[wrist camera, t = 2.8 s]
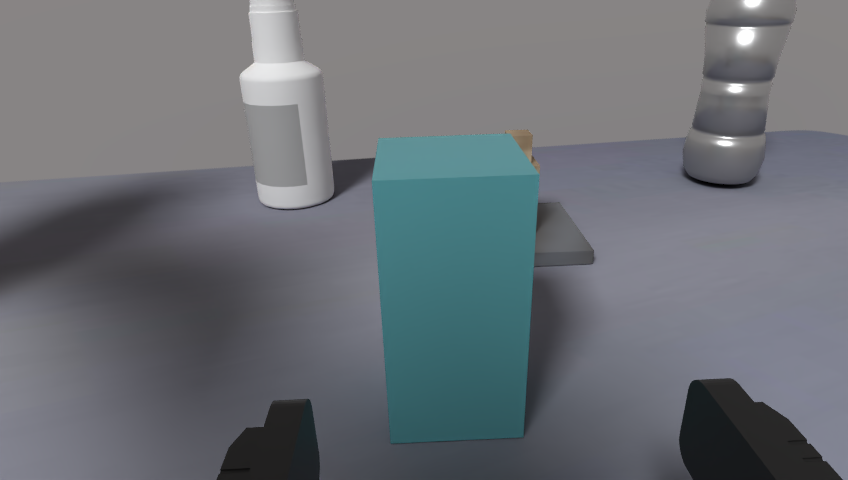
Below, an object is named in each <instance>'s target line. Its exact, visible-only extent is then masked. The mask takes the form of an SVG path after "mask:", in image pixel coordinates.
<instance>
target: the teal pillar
mask: <svg viewBox="0 0 848 480" xmlns="http://www.w3.org/2000/svg"><path fill="white" fill-rule="evenodd" d="M372 189H373V203H374V217H375V231H376V245H377V259H378V273H379V287H380V301H381V315H382V329H383V343H384V357H385V371H386V385H387V399H388V413H389V427H390V441H391V444H393V443H414V442H435V441H456V440H477V439H499V438H520V437H523V435H524V419H525V402H526V386H527V369H528V353H529V337H530V320H531V304H532V287H533V271H534V255H535V238H536V222H537V205H538V189H539V173H538V172H537V170H536V169H535V168H534V166H533V165H532V163H531V162H530V161H529V159H528V158H527V156H526V155H525V154H524V152H523V151H522V149H521V148H520V147H519V145H518V144H517V142H516V141H515V140H514V138H513V137H512V135H511V134H486V135H485V134H482V135H455V136H428V137H401V138H379V140H378V145H377V152H376V158H375V164H374V171H373V177H372Z"/></svg>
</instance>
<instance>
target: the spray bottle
mask: <svg viewBox="0 0 848 480" xmlns="http://www.w3.org/2000/svg"><path fill="white" fill-rule="evenodd" d="M249 8H250V12H249V13H248V15H249V21H250V28H251V35H252V41H251V42H252V49H253V55H254V61H255V62H254V63H253V64H252V65H251V66H249V67H248V68H247V69H246V70H244V71H243V72H242V73H241V75H240V84H241V91H242V97H243V103H244V110H245V116H246V121H247V127H248V134H249V140H250V146H251V152H252V159H253V165H254V171H255V177H256V184H257V190H258V196H259V199H260V201H261V203H262V204H264V205H266V206H268V207H272V208H277V209H299V208H305V207H311V206H314V205H318V204H321V203H323V202H325V201H327V200H329V199H330V198H331V197H332V196H333V193H334V180H333V170H332V160H331V150H330V141H329V132H328V121H327V111H326V101H325V91H324V82H323V73H322V71H321V70H320V69H319V68H317V67H316V66H314V65H313V64H311V63H309V62H307V61H306V60H305V59H304V52H303V43H302V38H301V34H300V26H299V18H298V11H297V10H296V8H295V4H294V0H250V6H249Z"/></svg>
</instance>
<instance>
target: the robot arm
mask: <svg viewBox="0 0 848 480" xmlns="http://www.w3.org/2000/svg"><path fill="white" fill-rule="evenodd" d="M679 444H680V451H681V455H682V459H683V462H684V464H685V466H686V468H687V470H688V471H689V473H690V475H691V476H692V478H693V480H843V479H842V478H841V477H840V476H839V475H838V474H837V473H836V472H835V471H834V469H833V468H832V467H831V466H830V465H829V464H828V463H827V462H826V461H823V460H822V456H821V455H820V454H819V453H818V452H817V451H816V449H815V448H814V447H813V446H812V445H811V444H808V443H807V439H806V438H805V437H804V436H803V435H802V434H801V433H800V432H799V431H798V429H797V428H796V427H795V426H794V425H793V424H792V423H791V422H790V421H789V419H787V418H786V417H784V416H783V415H781V414H780V413H778V412H777V411H775V410H774V409H772V408H771V407H769V406H768V405H766V404H765V403H763V402H754V401H753V400H752V399H751V398H750V397H749V396H748V394H747V393H746V392H745V391H744V390H743V389H742V387H741V386H740V385H739V384H738V383H737V382H736V381H735V380H733V379H731V378H725V379H706V380H694V381H692V382H691V384H690V386H689V389H688V394H687V400H686V405H685V410H684V415H683V420H682V425H681V430H680V437H679ZM220 470H221V472H220V474H219V475H218V477H217V480H319V472H320V462H319V451H318V444H317V438H316V431H315V425H314V418H313V411H312V405H311V402H310V400H309V399H298V400H279V401H273V402H272V404H271V406H270V409H269V412H268V415H267V418H266V421H265V424H264V427H254V428H246V429H245V430H244V431H243V432H242V434H241V435H240V436H239V437H238V438H237V439H236V440H235V441H234V442H233V444H232V445H231V446H230V447H229V449H228V451H227V454H226V456H225V459H224V462H223V464H222V467H221V469H220Z"/></svg>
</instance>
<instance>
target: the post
mask: <svg viewBox="0 0 848 480" xmlns="http://www.w3.org/2000/svg"><path fill="white" fill-rule="evenodd" d="M505 134H511V135H512V137H513V138H514V140H515V141H516V142H517V144H518V145H519V147H520V148H521V149H522V151H523V152H524V154H525V155H526V156H527V158H528V159H529V161H530V162H531V163H532V165H533V166H534V168H535V169H536V170H537V172H538V173H540V165H539V164H538V163H537V161H536V160H535V159H534V157H533V156H532V137H533V135H532V134H531V133H530V132H529V131H528V130H510V131H509V130H507V131H505ZM593 255H594V250H593V249H592V247H591V246H590V244H589V243H588V242H587V240H586V239H585V237H584V236H583V235H582V233H581V232H580V230H579V229H578V228H577V226H576V225H575V223H574V222H573V221H572V219H571V218H570V216H569V215H568V214H567V212H566V211H565V209H564V208H563V207H562V205H561V204H560V202H557V203H538V205H537V222H536V238H535V255H534V266H554V265H578V264H593Z"/></svg>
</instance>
